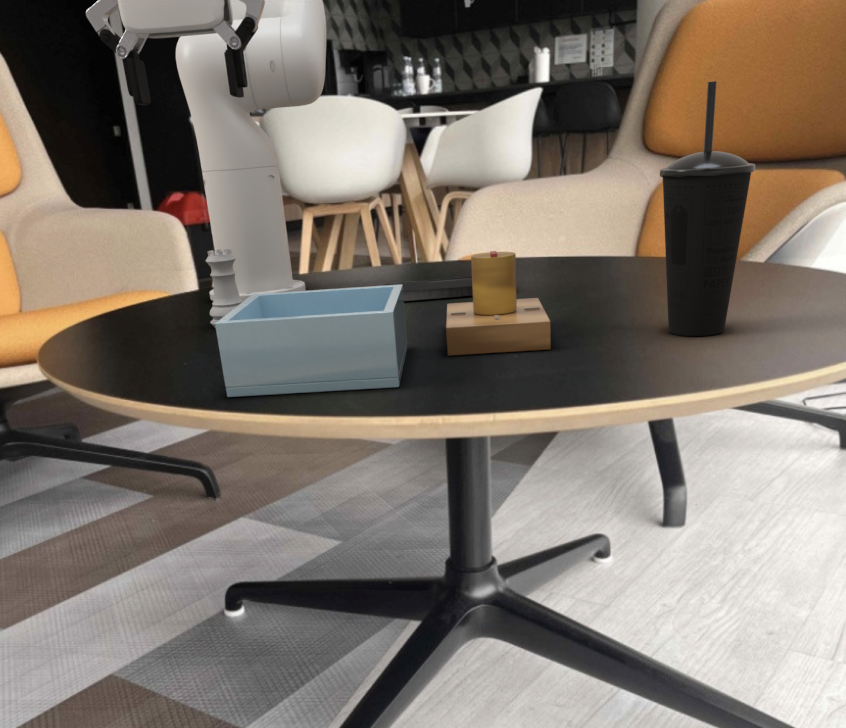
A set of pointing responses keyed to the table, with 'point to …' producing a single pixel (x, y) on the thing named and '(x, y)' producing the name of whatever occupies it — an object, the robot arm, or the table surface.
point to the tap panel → (497, 329)
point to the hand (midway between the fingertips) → (190, 100)
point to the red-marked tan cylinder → (494, 283)
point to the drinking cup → (703, 232)
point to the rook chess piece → (223, 284)
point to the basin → (314, 341)
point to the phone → (436, 288)
